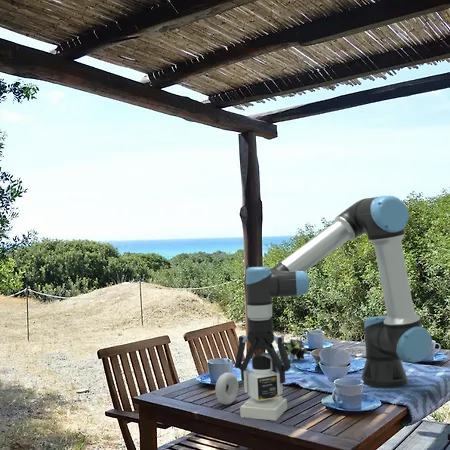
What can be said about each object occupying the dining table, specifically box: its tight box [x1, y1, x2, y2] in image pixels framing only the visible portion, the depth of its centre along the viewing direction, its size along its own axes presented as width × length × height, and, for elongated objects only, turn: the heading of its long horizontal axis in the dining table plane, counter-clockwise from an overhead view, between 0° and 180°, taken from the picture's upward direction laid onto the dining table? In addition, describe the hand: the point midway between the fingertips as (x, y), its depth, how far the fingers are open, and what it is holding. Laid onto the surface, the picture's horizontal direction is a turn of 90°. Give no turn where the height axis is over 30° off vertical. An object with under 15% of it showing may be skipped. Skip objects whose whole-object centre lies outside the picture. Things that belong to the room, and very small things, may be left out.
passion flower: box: [277, 338, 311, 364], centre depth 226 cm, size 11×11×12 cm
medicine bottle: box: [247, 354, 280, 401], centre depth 164 cm, size 7×7×12 cm
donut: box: [214, 372, 240, 406], centre depth 174 cm, size 10×4×10 cm, turn 141°
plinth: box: [239, 395, 288, 421], centre depth 164 cm, size 11×11×4 cm
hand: (263, 392), depth 164 cm, fingers closed on medicine bottle, 10 cm apart
